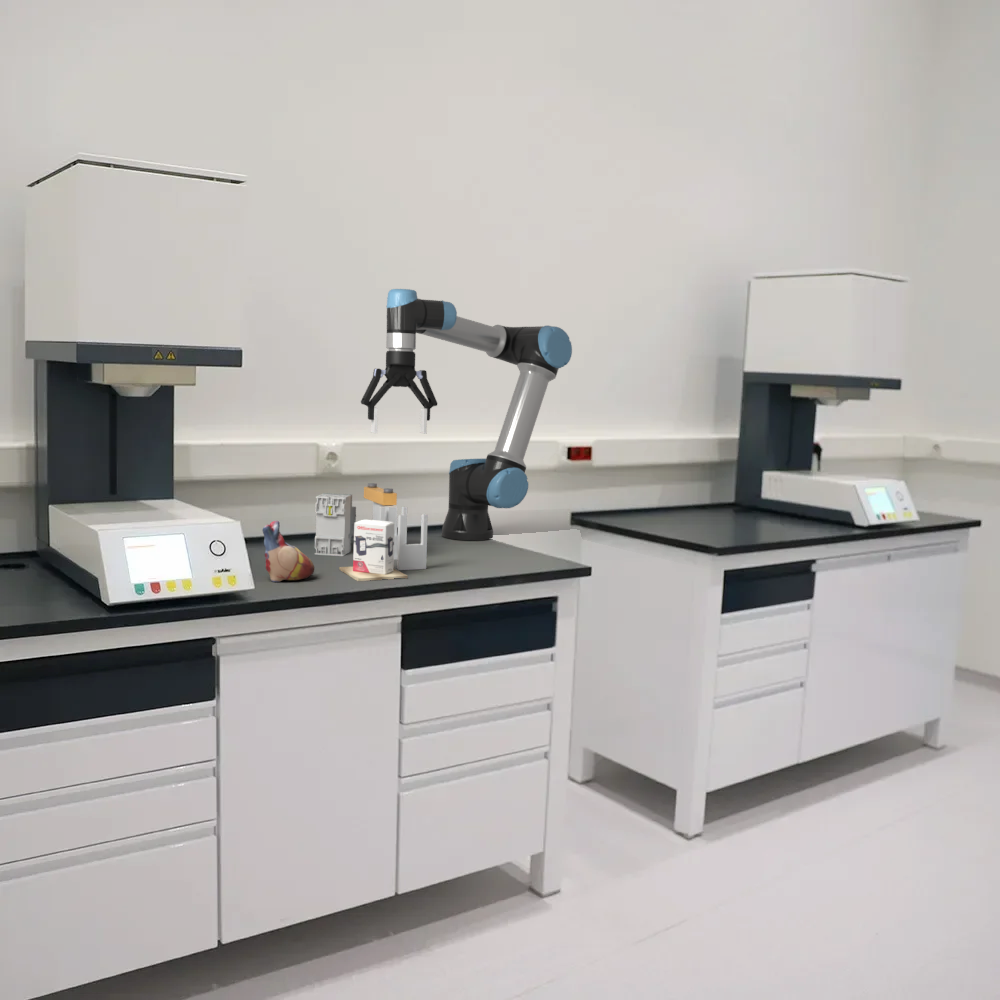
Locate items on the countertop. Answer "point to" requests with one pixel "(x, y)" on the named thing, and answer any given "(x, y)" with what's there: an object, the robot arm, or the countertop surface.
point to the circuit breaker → (334, 524)
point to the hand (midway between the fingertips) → (398, 433)
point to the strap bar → (380, 495)
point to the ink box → (373, 546)
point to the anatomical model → (284, 557)
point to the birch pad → (371, 574)
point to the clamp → (404, 537)
